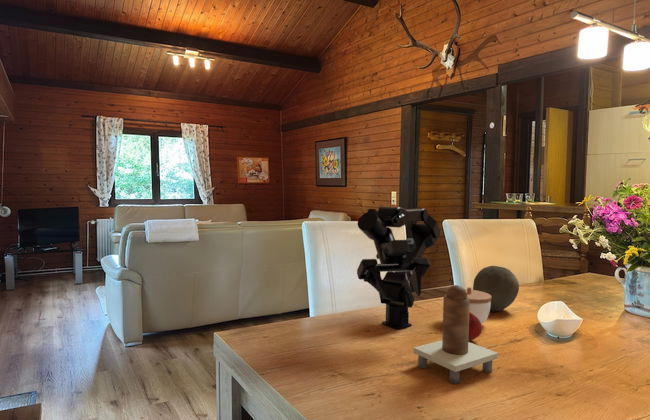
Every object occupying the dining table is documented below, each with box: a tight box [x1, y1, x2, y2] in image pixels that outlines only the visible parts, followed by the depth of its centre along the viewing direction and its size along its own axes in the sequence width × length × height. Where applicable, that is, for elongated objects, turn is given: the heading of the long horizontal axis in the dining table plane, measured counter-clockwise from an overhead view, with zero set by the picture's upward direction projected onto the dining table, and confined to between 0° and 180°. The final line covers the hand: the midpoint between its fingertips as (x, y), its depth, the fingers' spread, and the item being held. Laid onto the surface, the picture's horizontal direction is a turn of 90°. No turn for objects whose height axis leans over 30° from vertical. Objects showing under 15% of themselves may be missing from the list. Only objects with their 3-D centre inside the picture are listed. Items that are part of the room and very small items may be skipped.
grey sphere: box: [472, 265, 520, 312], centre depth 143 cm, size 14×14×15 cm
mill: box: [441, 284, 470, 355], centre depth 95 cm, size 6×6×15 cm
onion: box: [468, 311, 483, 342], centre depth 114 cm, size 6×6×8 cm
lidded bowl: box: [464, 286, 491, 325], centre depth 128 cm, size 13×13×11 cm
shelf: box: [412, 339, 499, 385], centre depth 96 cm, size 12×14×4 cm
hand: (402, 296), depth 106 cm, fingers open, 9 cm apart
